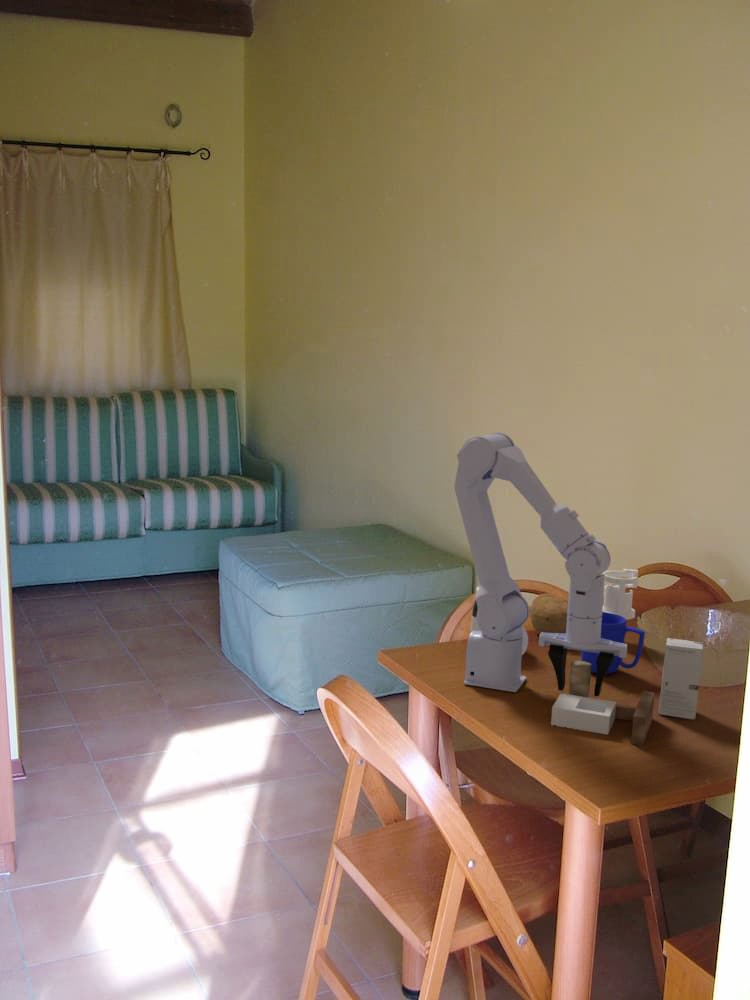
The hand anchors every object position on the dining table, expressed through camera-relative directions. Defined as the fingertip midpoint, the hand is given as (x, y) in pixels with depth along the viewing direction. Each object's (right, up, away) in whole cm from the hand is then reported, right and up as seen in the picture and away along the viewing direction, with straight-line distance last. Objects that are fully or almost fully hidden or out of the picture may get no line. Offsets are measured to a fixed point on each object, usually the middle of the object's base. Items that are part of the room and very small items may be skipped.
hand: (579, 691), depth 178 cm
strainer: (+14, +4, +35) cm, 38 cm away
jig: (+2, -4, -10) cm, 11 cm away
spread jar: (-10, +3, +27) cm, 29 cm away
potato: (+2, +4, +36) cm, 36 cm away
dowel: (0, -2, 0) cm, 2 cm away
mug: (+9, +1, +16) cm, 18 cm away
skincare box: (+16, -3, -4) cm, 16 cm away
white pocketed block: (-1, -3, -9) cm, 10 cm away
